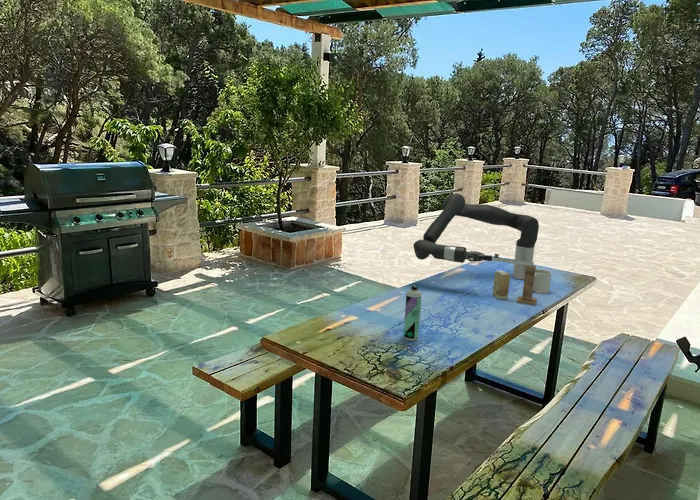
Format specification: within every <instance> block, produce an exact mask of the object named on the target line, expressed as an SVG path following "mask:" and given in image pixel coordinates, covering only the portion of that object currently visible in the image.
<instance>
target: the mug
mask: <svg viewBox="0 0 700 500" xmlns="http://www.w3.org/2000/svg"><path fill="white" fill-rule="evenodd" d="M551 280H552V271H550V270H547V269H541V268H536V270H535V278H534V286H533V293H535V294H549V292H550V285H551Z"/></svg>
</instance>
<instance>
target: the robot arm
mask: <svg viewBox="0 0 700 500" xmlns="http://www.w3.org/2000/svg"><path fill="white" fill-rule="evenodd" d="M441 205H442V209H443V210H442V211H441V213H440V214H439V215H438V216H437V217H436V218H435V219H434V220H433V221H432V222H431V224H430V225H429V227H428V228H427V229H426V230H425V232H424V234H423V235H422V236H423V237H422V238H423V239H418V240H416V241H415V242H414V243H413V250H414V253H415V256H416V257H415V258H417V259H418V260H425V259H427V258H428V257H430V255H431V256H432V257H433V258H434V259H437V260H442V261H448V262H451V263H452V262H453V263H461V264H463V263H465V261H466V260H467V261H469V262H470V263H471V262H482V261H487V262H493V261H492V260H493V256H492V255H486V254H484V253H482V252H480V251H477V250H473V251H472V250H470V251H467V247H465V246H457V245H446V244H438V243H437V241H438V240H439V238H440V237H441V235H442V234H443V232H445V230H446V228H447V227H448V225H449V224H450V222H451V221H452V220H453V219H454V218H455V216H456V217H463V218H468V219H470V220H474V221H478V222H482V223H485V224H489V225H495V226H506V227H508V228H512V229H515V230H517V231H520V236H519V237H520V238H519V239H516V243H515V253H514V259H516V260H523V261H531V262H534V252H535V246H536V245H535V244H536V243H537V241H538V236H539V228H540V227H539V226H540V225H539V224H540V223H539V219H537V218H536V217H534V216H530V215H528V214H521V213H520V214H519V213H515V212H510V211H507V210H505V209H503V208H500V207H498V206H494V205H491V204H484V203H483V204H481V203H479V204H469V203H466V199H465V197H464V195H462V194H461V193H452V194H450V195H449V196H448V197H446V198H445V199H444V201H443V202H442V204H441ZM525 270H526V265H522V264H514V263H513V270H512V271H513V272H512V278H514V279H518V280H524V278H525Z"/></svg>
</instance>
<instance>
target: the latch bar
mask: <svg viewBox="0 0 700 500" xmlns="http://www.w3.org/2000/svg"><path fill="white" fill-rule="evenodd" d="M499 255H500V254H499V253H494V256H492V261H491V262H500V263H508V264H513V265H514V264H522V265H529V266H533V265H535V261H533V262H531V261H523V260H516V259H515V258H505V257H500V256H499Z"/></svg>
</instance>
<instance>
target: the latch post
mask: <svg viewBox="0 0 700 500" xmlns="http://www.w3.org/2000/svg"><path fill="white" fill-rule="evenodd" d="M536 269H537V265H535V264H534V265H533V266H529V265H526V270H525V278H524V281H523V287H522V288H523V289H522V295H519V296H518V297H517V299H516V304H523V305H529V306H536V304H537V301H538V299H537V298H535V297H533V295H534V294H533V293H534V292H533V286H534V278H535V270H536Z"/></svg>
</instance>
